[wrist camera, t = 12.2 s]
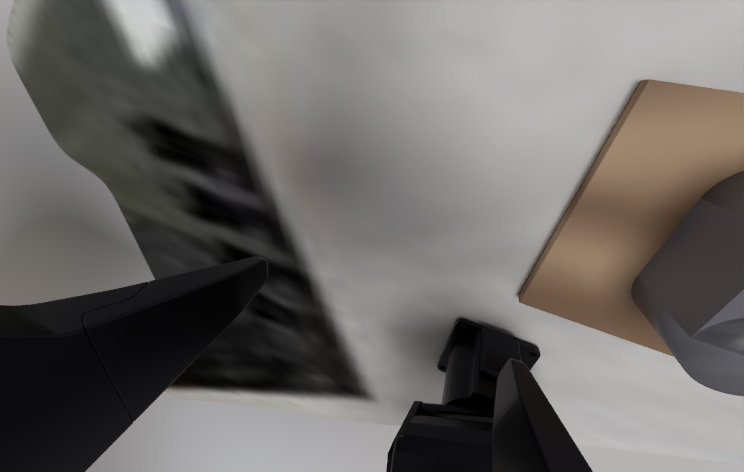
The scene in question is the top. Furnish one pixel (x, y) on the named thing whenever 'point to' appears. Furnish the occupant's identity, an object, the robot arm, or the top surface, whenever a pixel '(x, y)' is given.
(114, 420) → the robot arm
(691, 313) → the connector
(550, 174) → the top surface
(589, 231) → the board
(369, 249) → the top surface
